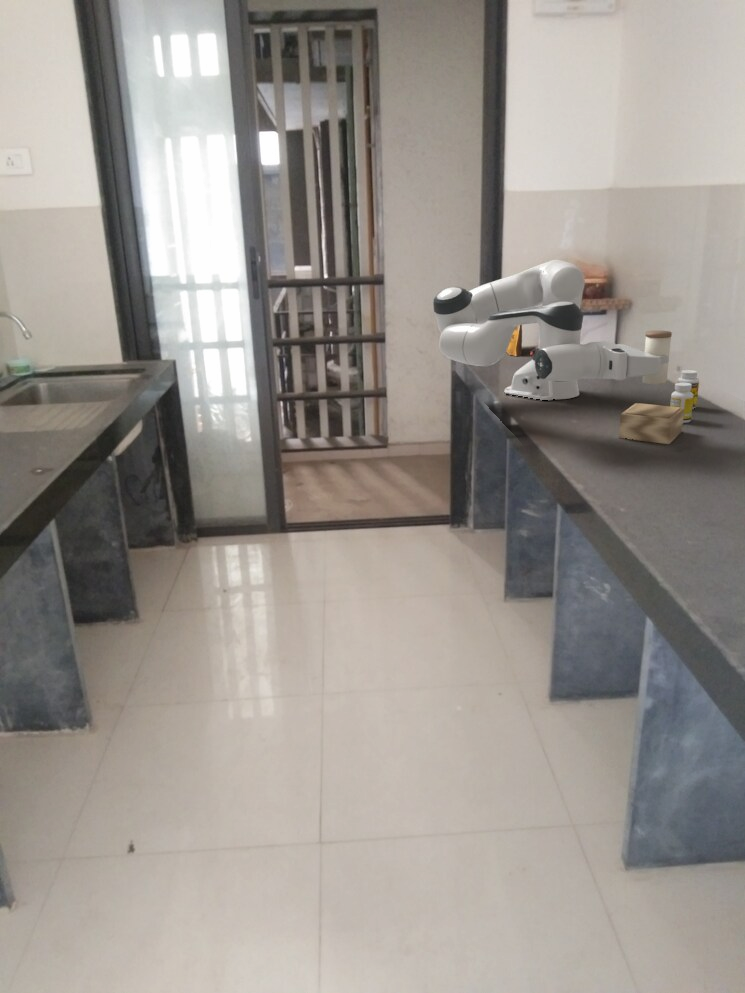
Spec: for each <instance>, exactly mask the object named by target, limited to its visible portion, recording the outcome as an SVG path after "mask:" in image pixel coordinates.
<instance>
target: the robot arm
mask: <svg viewBox="0 0 745 993" xmlns="http://www.w3.org/2000/svg"><path fill="white" fill-rule="evenodd" d="M585 282H586V281H585V275H584V273H583V271H582V269H581V268H580V267H579V266H578V265H576V264H574V263H572V262H569V261H566V260H562V259H552V260H549V261H546V262H544V263H541V264H538V265H535V266H533V267H531V268H528V269H526V270H523V271H521V272H518V273H514V274H512V275H510V276H509V275H508V276H506V277H503V278H500V279H496V280H494V281H490V282H487V283H484V284H482V285H479V286H477V287H475V288H472V289H471V290H467V289H466V288H464V287H459V286H451V287H450V286H449V287H447V288H444V289H442V290H441V291H439V292H438V293H436V295H435V296H434V298H433V302H432V303H433V311H434V314H435V319H436V325H437V329H438V332H439V334H440V336H439V339H438V342H439V343H438V346H439V349H440V352H441V353H442V355H443V356H444V357H446V358H448V359H450V360H452V361H453V362H455V363H461V364H465V365H469V366H470V365H471V366H477V367H490V366H492V365H494V364H496V363H497V362H498V363H499V361H500V360H501V359H502V358H503V357H504V355H505V354H506V351H507V348H508V346H509V342H510V339H511V337H512V335H513V332H514V330H515V329H516V327H517V326H518V325H522V326H523V325H529V324H538V342H537V343H538V346H536V347H535V348H533V349H532V350H531V351H530V354H529V355H530V356H532V358H531V360H529V361H528V362H527V363H525V364H523V365H522V366H521V367H520V368H519V369H517V370H516V371H515V372H514V374H513V377H512V380H511V385H509V386H507V387H505V388H504V392H505V393H509V394H514V395H518V396H523V397H522V398H524V397H528V398H527V399H530V398H533V399H532V400H536V399H540V400H539V401H542V400H548V401H553V399H555V400H567V399H571V398H572V399H573V398H575V397H578V396H580V390H579V386H578V381H580V380H583V379H584V380H585V379H586V380H590V381H591V380H592V381H594V380H614V381H624V380H626V379H627V378H637V377H643V376H645V375H652V374H656V373H658V372H659V371H660V364H667V363H668V364H669V362H668V361H669V360H670V356H669V357H668V356H666V355H659V356H654V355H652V354H649V353H646V352H645V349H638V348H636V347H633V346H630V345H627V344H624V343H617V344H616V342H614V341H613V340H606V341H605V340H604V341H603V340H602V341H591V342H588V343H583V344H581V334H582V328H583V320H584V313H583V312H582V309H581V306H582V299H583V293H584V289H585V285H586V283H585ZM541 305H542V306H541ZM504 392H503V393H504ZM518 396H517V397H518Z"/></svg>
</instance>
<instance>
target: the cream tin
mask: <svg viewBox="0 0 745 993" xmlns="http://www.w3.org/2000/svg"><path fill="white" fill-rule="evenodd" d="M672 335H673V332H672V331H669V330H648V331H645V343H644V350H645V352H646V353H649V354H652V355H654V356H659V355H666V356H668V357H669V358H670V352H671V351H670V348H671V339H672ZM668 369H669V361H668V363H667V364H660V371H659V372H658V373H656V374H652V375H645V376H641V377H642V380H641V381H642V382H641V383H645V384H649V385H662V384H666V383H667V380H668Z"/></svg>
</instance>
